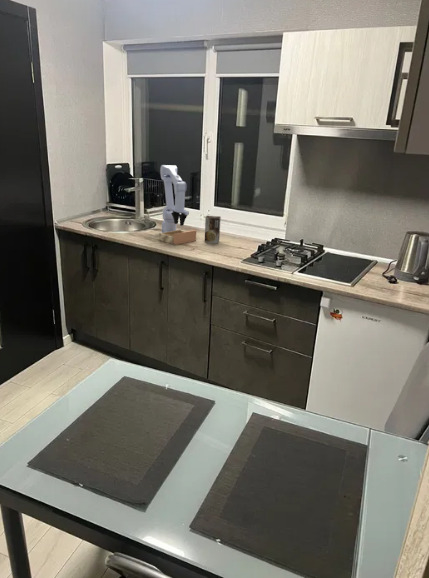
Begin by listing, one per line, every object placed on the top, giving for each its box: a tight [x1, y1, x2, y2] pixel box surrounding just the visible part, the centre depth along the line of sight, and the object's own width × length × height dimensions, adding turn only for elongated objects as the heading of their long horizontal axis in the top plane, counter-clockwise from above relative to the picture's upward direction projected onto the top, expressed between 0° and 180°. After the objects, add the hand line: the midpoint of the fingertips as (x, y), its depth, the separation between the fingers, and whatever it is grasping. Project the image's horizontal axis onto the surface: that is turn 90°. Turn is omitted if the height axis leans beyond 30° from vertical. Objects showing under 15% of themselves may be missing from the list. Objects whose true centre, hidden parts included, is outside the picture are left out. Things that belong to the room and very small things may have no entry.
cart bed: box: [158, 229, 187, 245], centre depth 266 cm, size 13×18×4 cm
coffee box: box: [204, 215, 222, 244], centre depth 266 cm, size 9×6×16 cm
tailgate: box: [172, 229, 197, 245], centre depth 261 cm, size 1×18×6 cm, turn 136°
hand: (179, 224), depth 263 cm, fingers open, 4 cm apart
